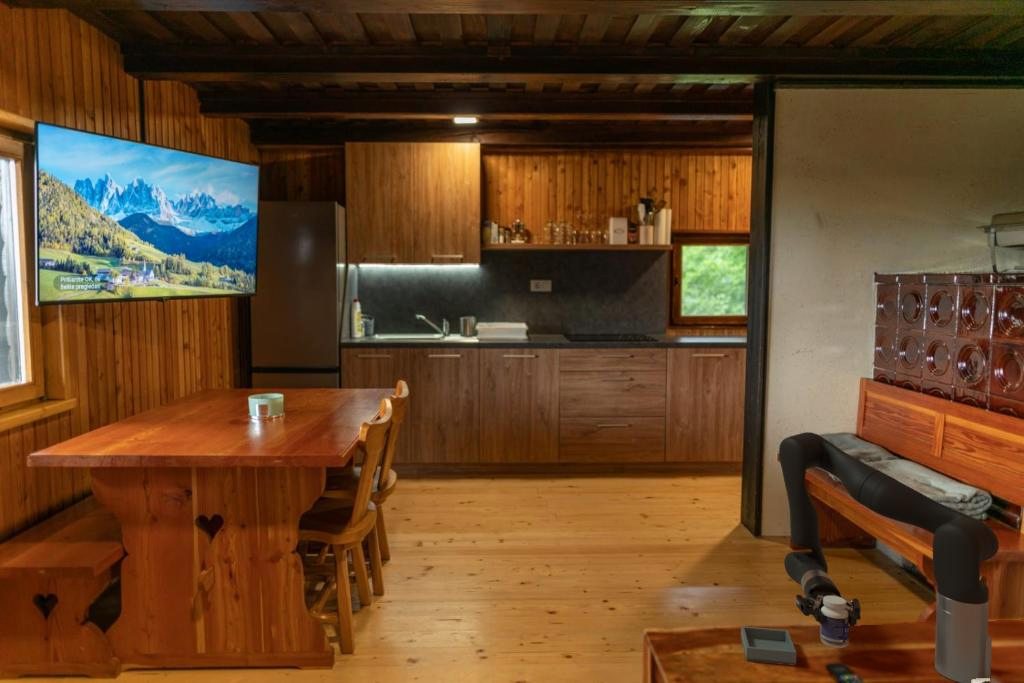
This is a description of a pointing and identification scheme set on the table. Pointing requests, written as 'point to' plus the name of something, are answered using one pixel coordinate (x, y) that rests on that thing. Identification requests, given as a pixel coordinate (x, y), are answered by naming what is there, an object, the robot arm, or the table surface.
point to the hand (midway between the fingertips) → (837, 621)
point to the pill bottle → (835, 622)
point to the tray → (768, 645)
